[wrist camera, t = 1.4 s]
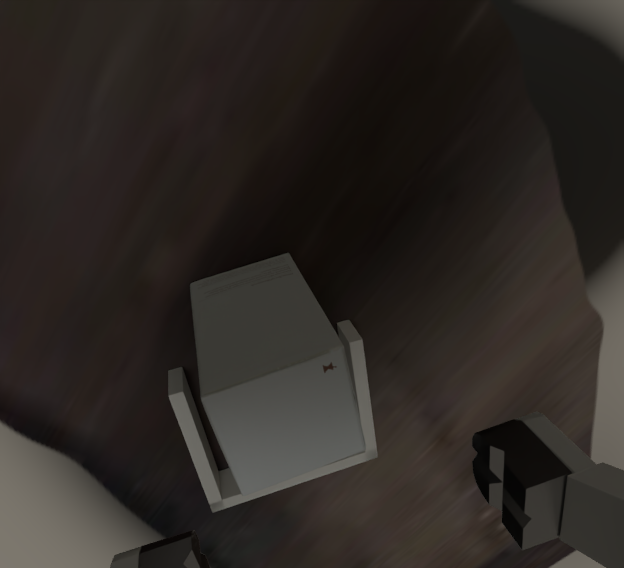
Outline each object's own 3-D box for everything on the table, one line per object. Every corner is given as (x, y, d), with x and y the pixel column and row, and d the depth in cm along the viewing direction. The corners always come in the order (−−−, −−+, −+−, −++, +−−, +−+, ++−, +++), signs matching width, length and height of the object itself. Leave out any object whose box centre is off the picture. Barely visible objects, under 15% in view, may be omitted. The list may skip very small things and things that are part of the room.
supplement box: (186, 281, 33) (196, 395, 22) (290, 249, 34) (349, 343, 23) (218, 366, 36) (239, 501, 25) (311, 335, 37) (371, 452, 26)
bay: (168, 370, 35) (168, 395, 33) (348, 319, 38) (362, 339, 35) (209, 483, 41) (212, 512, 38) (365, 432, 43) (377, 457, 41)
